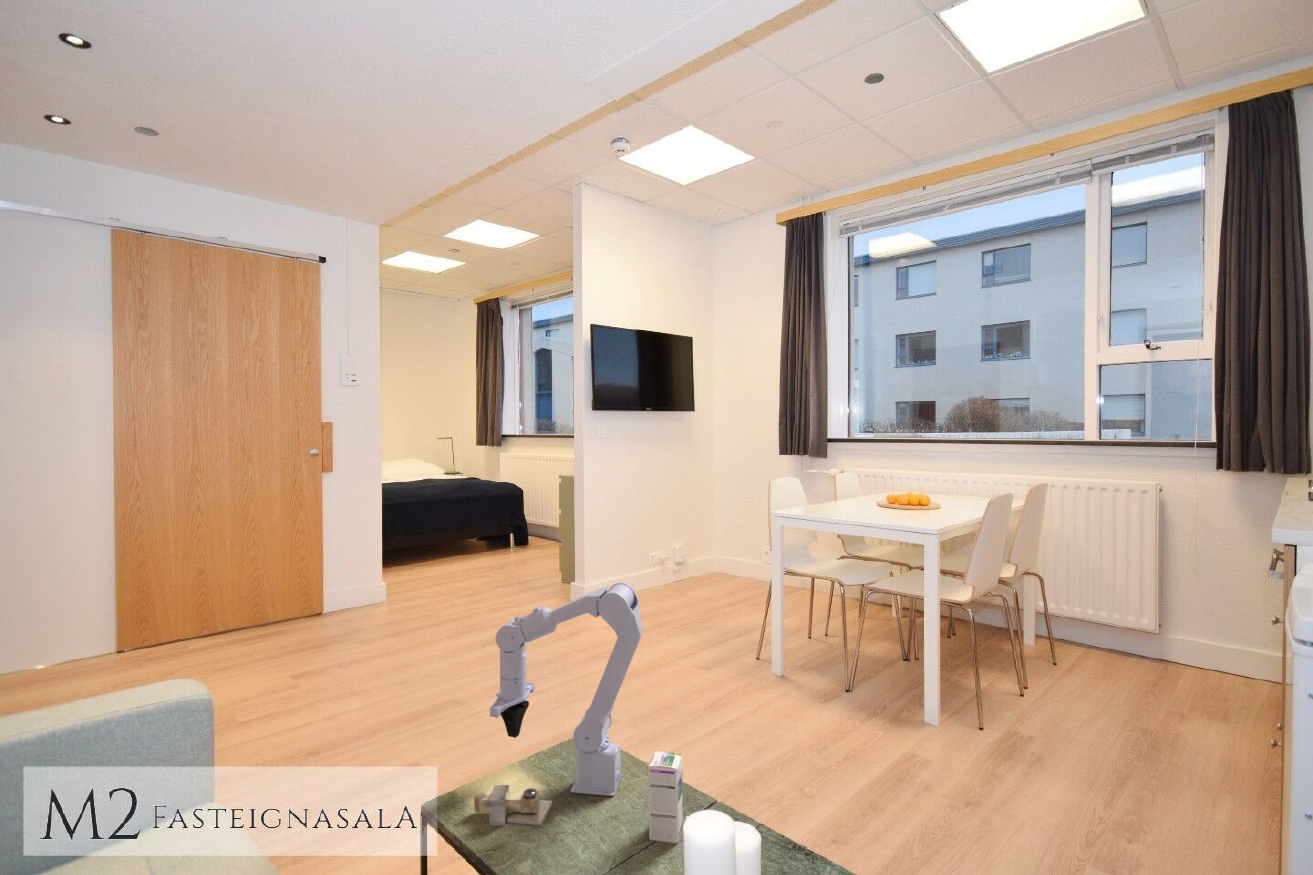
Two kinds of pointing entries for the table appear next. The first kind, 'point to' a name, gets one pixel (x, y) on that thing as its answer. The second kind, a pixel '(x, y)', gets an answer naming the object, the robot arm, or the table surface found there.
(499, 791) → the block
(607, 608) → the robot arm
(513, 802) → the link
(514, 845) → the table surface
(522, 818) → the pintle base
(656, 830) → the syrup box
